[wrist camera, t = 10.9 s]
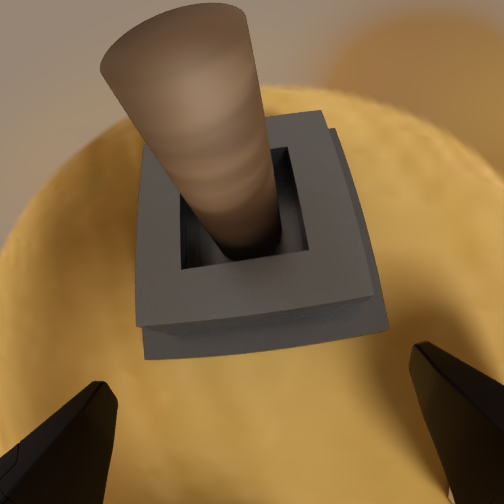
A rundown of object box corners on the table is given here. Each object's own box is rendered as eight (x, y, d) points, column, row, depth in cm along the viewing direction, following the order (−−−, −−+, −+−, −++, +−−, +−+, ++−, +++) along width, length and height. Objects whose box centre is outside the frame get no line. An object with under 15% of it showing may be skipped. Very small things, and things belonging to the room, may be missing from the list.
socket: (384, 330, 16) (410, 321, 12) (151, 360, 17) (112, 357, 13) (333, 136, 21) (337, 92, 17) (152, 170, 22) (126, 134, 18)
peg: (267, 273, 17) (196, 83, 5) (204, 250, 18) (74, 84, 6) (291, 212, 18) (269, 2, 6) (231, 194, 19) (154, 8, 7)
